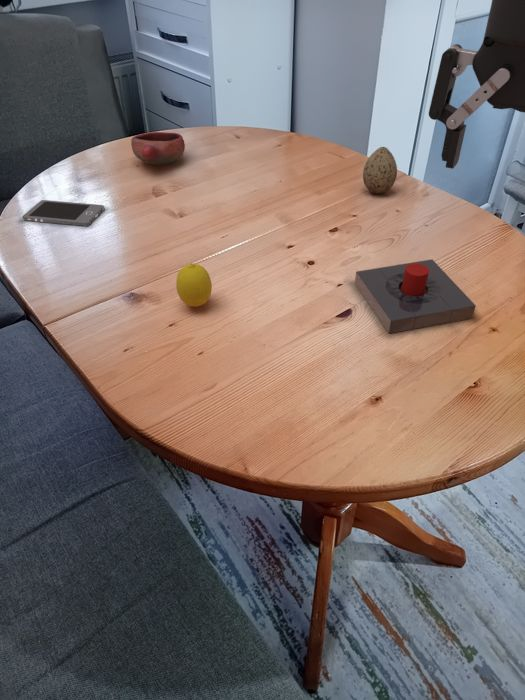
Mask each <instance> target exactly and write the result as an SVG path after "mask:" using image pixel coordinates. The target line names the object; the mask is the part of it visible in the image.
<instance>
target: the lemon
mask: <svg viewBox="0 0 525 700" xmlns="http://www.w3.org/2000/svg"><path fill="white" fill-rule="evenodd" d="M175 282H176V284H175V285H176V286H175V287H176V292H177V295H178V297H179V300H180V301H182V303H184V304H185V305H187V306H190V307H195V308H198V307H200V306H202V305H205V304H206V303H207V302H208V301H209V299H210V298H211V295H212V289H213V284H212V280H211V277H210V274H209V272H208V270H207V269H206V268H205V267H204V266H202V265H200V264H198V263H188V264H185V265H184V266H182V268H180V270H179V271H178V273H177V276H176V281H175Z"/></svg>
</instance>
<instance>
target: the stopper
mask: <svg viewBox="0 0 525 700" xmlns="http://www.w3.org/2000/svg"><path fill="white" fill-rule="evenodd" d="M428 274H429V269H428V268H427V267H426V266H425V265H422V264H418V263H413V264H409V265H407V266H406V268H405V273H404V278H403V284H402V290H401V292H402V293H404V294H406V295H410V296H422V295H424V292H425V288H426V283H427V278H428Z"/></svg>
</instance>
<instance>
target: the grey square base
mask: <svg viewBox="0 0 525 700" xmlns="http://www.w3.org/2000/svg"><path fill="white" fill-rule="evenodd" d="M413 263H418V264H422V265H425V266H426V267H427V268H428V269H429V274H428V278H427V283H426V288H425V292H424V295H422V296H410V295H406V294H404V293H402V292H401V290H402V284H403V278H404V273H405V268H406V266H407V265H409V264H413ZM354 285H355V287H356V288H357V290H358V291H359V293H360V294H361V295H362V297H363V298H364V300H365V301H366V304H368V306H369V307H370V308H371V310H372V312H373V313H374V314H375V316H376V317H377V319H378V320H379V321H380V324H382V326H383V328H384V330H386V332H387V333H388V335H390V334H394V333H402V332H405V331H410V330H411V331H412V330H417V329H422V328H427V327H432V326H439V325H444V324H449V323H456V322H460V321H466V320H470V319H473V317H474V314H475V310H476V308H477V307H476V306H477V305H476V304H475V303H474V302H473V301H472V300H471V299H470V297H468V295H467V294H466V293H465V292H464V291H463V290H462V289H461V288H460V287H459V286H458V284H457V283H455V281H453V280H452V278H450V276H449V275H448V274H447V272H445V271H444V270H443V269H442V268H441V266H440V265H439V264H437V262H435V261H434V259H433V258H432V259H425V260H419V261H413V262H412V261H411V262H407V263H400V264H393V265H388V266H382V267H375V268H370V269H363V270H356V271H355V278H354Z"/></svg>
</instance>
